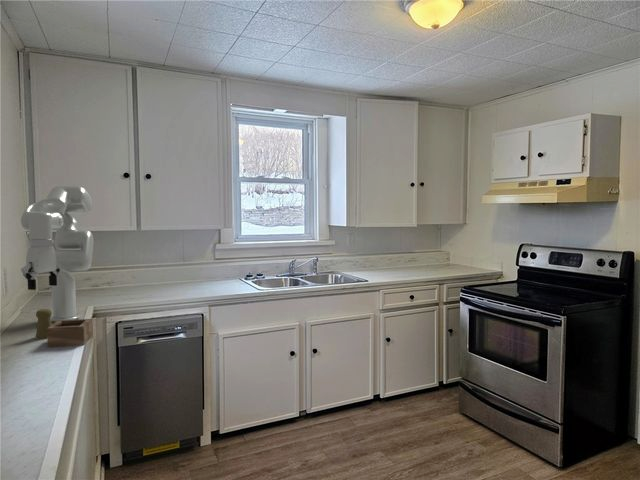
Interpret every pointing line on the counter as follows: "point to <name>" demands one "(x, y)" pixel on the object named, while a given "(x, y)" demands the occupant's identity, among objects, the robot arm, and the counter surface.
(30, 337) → the counter surface
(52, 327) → the box
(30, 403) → the counter surface
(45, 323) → the cork
